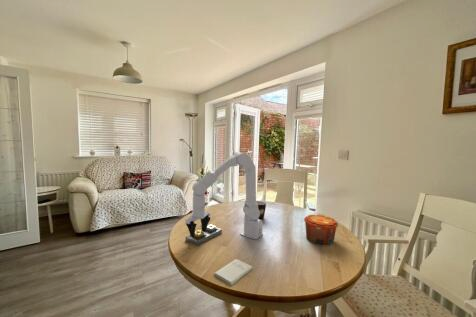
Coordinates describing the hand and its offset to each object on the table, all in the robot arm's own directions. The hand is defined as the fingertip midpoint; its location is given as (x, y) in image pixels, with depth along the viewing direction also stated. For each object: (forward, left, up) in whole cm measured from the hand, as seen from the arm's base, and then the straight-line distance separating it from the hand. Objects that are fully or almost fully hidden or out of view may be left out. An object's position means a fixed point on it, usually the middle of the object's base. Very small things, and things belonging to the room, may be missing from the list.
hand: (198, 233), depth 101 cm
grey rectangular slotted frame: (0, -4, -3) cm, 5 cm away
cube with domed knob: (0, -9, -3) cm, 10 cm away
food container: (-48, -38, -3) cm, 62 cm away
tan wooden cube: (0, 0, -3) cm, 3 cm away
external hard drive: (-29, +10, -4) cm, 31 cm away
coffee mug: (-7, -45, -3) cm, 46 cm away
